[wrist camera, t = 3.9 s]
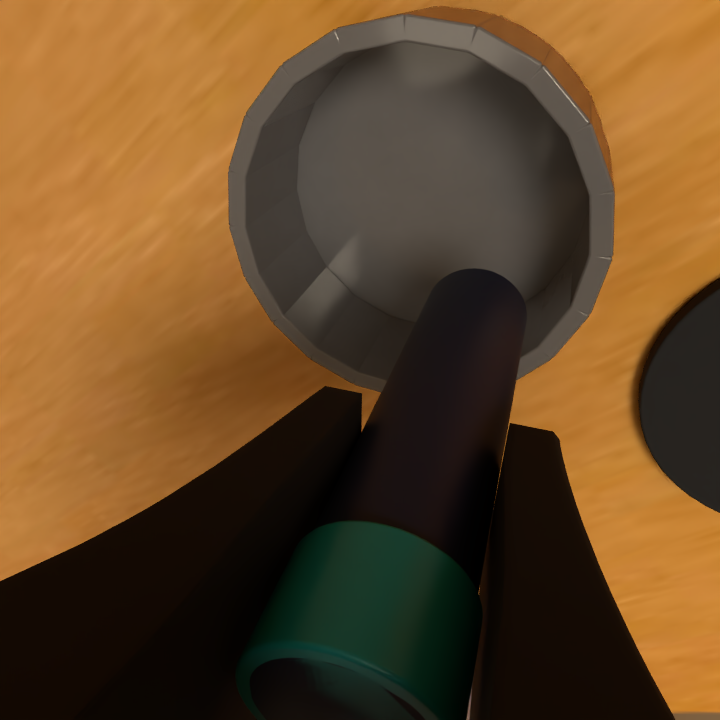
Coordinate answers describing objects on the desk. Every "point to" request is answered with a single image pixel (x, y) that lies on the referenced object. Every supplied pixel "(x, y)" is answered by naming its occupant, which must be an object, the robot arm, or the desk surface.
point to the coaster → (686, 398)
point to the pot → (420, 185)
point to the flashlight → (401, 531)
